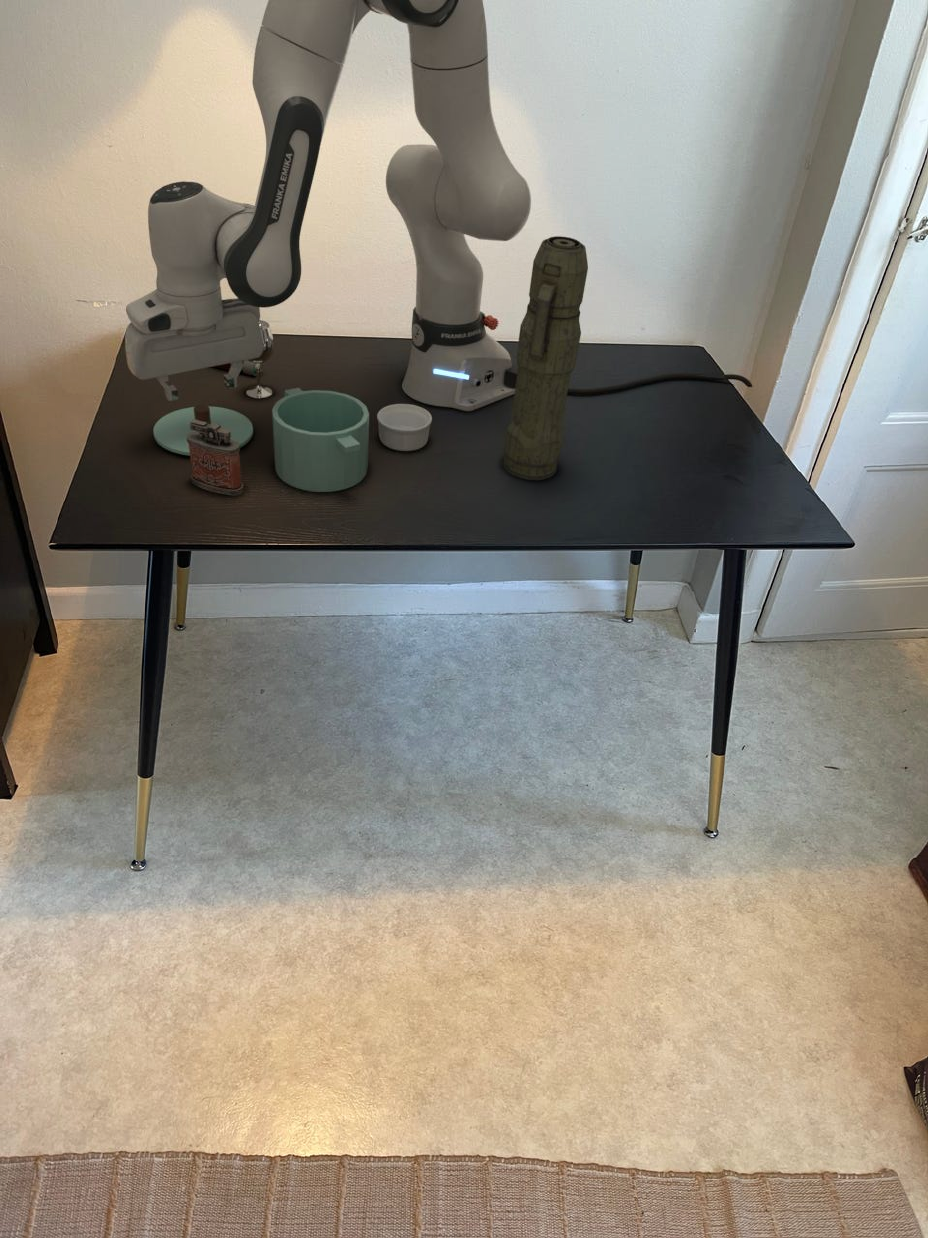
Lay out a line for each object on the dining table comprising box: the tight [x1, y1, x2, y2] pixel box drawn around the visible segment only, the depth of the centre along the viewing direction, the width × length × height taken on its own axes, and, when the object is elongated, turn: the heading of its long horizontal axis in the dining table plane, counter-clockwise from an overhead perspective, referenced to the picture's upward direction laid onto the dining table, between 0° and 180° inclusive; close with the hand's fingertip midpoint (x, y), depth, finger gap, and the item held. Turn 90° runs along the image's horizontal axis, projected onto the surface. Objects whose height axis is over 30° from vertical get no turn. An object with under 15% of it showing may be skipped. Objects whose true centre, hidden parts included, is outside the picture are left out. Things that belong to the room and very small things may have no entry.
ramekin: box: [376, 403, 433, 452], centre depth 146 cm, size 9×9×4 cm
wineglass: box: [245, 319, 275, 399], centre depth 152 cm, size 6×6×12 cm
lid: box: [152, 404, 254, 457], centre depth 142 cm, size 15×15×5 cm
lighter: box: [187, 420, 244, 496], centre depth 129 cm, size 8×3×10 cm, turn 71°
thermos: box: [502, 235, 589, 481], centre depth 134 cm, size 9×12×35 cm
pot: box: [271, 387, 370, 493], centre depth 136 cm, size 14×19×10 cm
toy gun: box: [213, 360, 262, 377], centre depth 163 cm, size 10×12×5 cm
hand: (202, 392), depth 139 cm, fingers open, 8 cm apart
